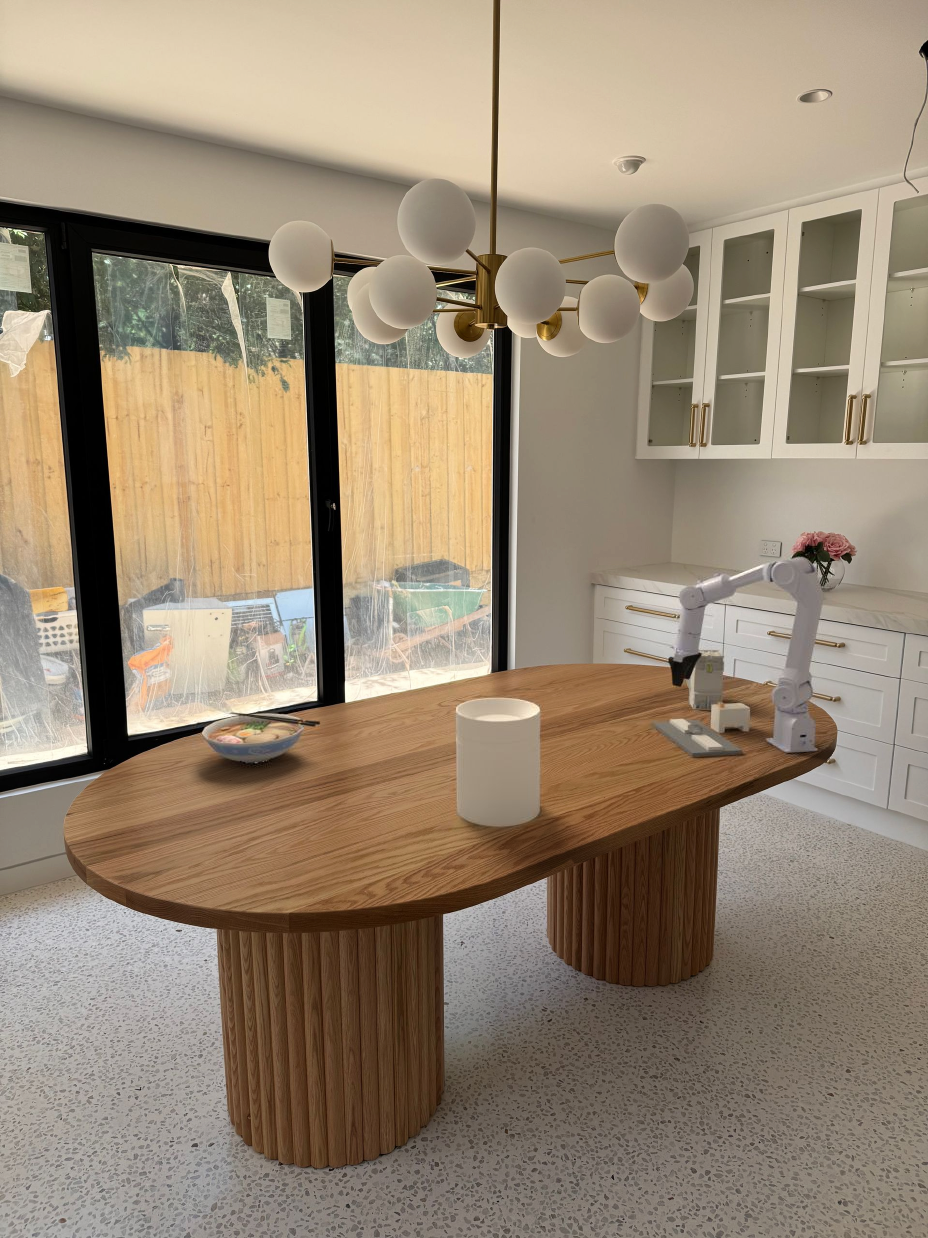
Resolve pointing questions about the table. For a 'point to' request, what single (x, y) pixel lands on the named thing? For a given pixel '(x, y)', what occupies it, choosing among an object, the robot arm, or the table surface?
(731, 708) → the block
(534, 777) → the canister
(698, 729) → the block
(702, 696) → the circuit breaker
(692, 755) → the din board
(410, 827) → the table surface
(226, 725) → the ramen bowl
